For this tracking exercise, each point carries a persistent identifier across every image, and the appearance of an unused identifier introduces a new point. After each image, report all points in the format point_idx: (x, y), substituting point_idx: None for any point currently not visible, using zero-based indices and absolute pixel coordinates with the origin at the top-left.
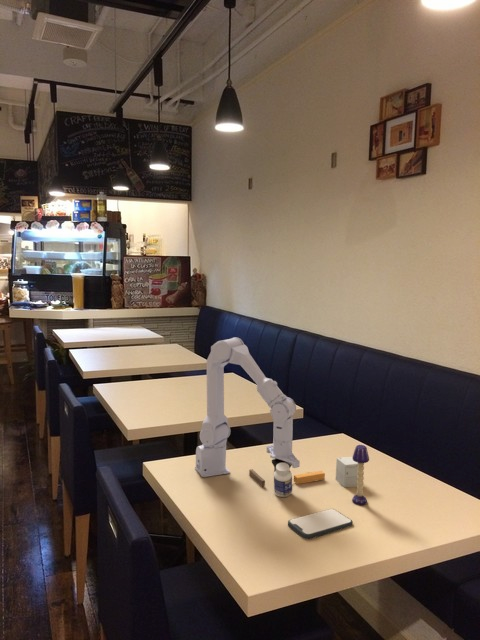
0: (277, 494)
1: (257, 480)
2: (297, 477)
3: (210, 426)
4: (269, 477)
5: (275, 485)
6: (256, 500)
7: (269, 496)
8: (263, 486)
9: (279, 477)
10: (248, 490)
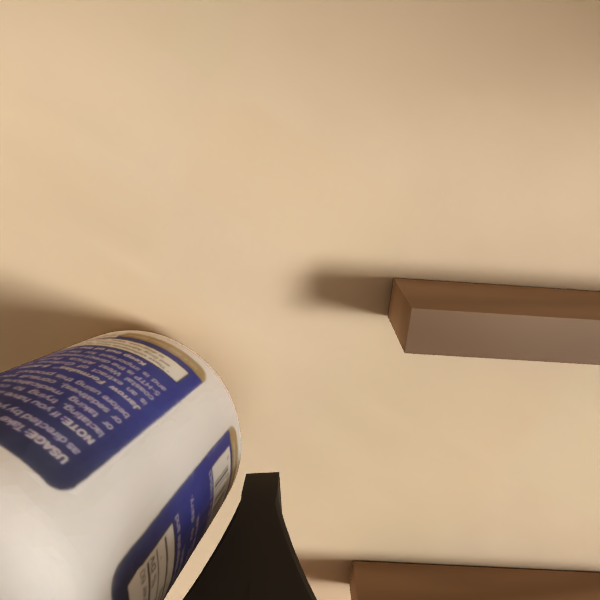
0: (99, 335)
1: (537, 299)
2: None
3: None
4: (565, 476)
5: (44, 365)
6: (79, 9)
7: (135, 240)
8: (391, 302)
9: None
10: (405, 64)
